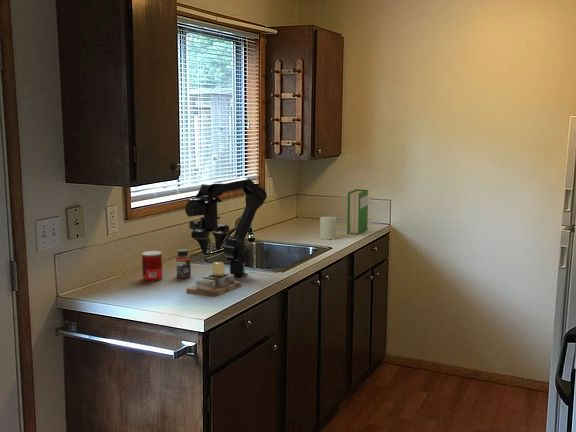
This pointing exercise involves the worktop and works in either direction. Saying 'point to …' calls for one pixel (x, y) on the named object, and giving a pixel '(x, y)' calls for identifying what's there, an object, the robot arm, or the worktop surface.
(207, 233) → the robot arm
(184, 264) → the supplement bottle
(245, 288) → the worktop surface
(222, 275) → the cylinder
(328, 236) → the can
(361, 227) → the hardback book
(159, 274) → the canned food
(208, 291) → the jig
